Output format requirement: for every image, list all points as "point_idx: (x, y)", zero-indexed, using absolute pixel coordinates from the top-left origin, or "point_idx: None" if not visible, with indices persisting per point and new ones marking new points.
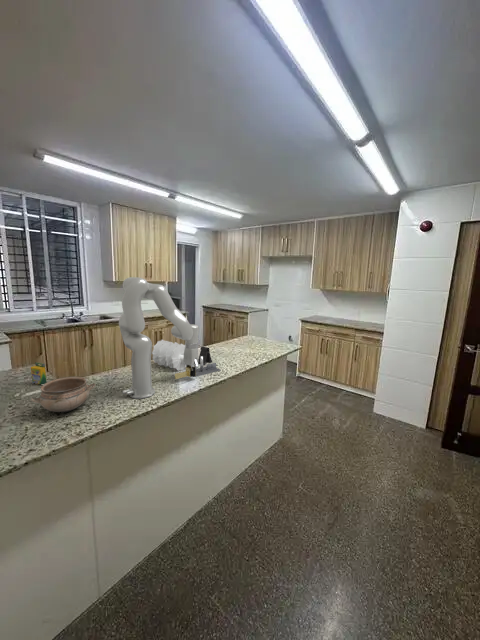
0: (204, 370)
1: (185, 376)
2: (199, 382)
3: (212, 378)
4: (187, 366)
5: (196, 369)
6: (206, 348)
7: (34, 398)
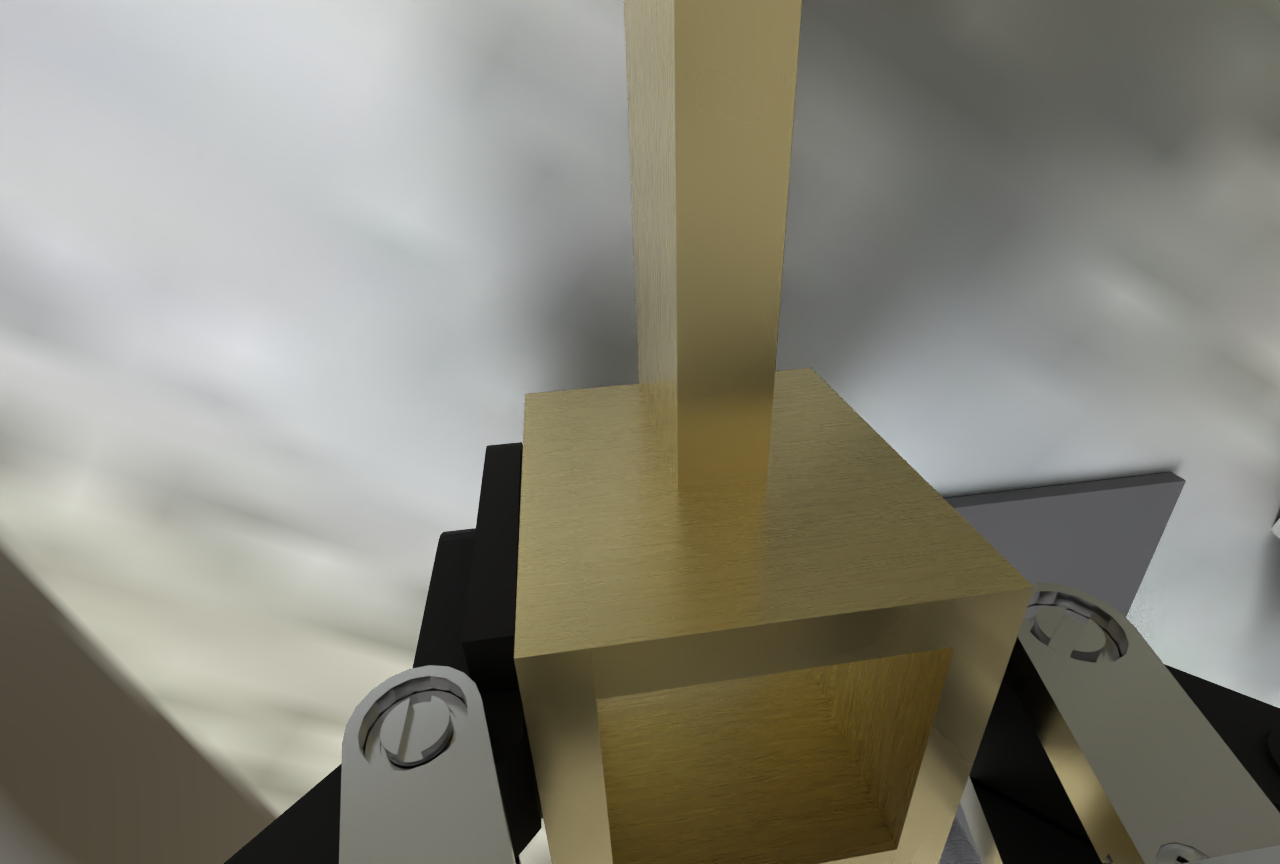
0: None
1: (640, 284)
2: (324, 536)
3: None
4: (1020, 689)
5: None
6: None
7: None
